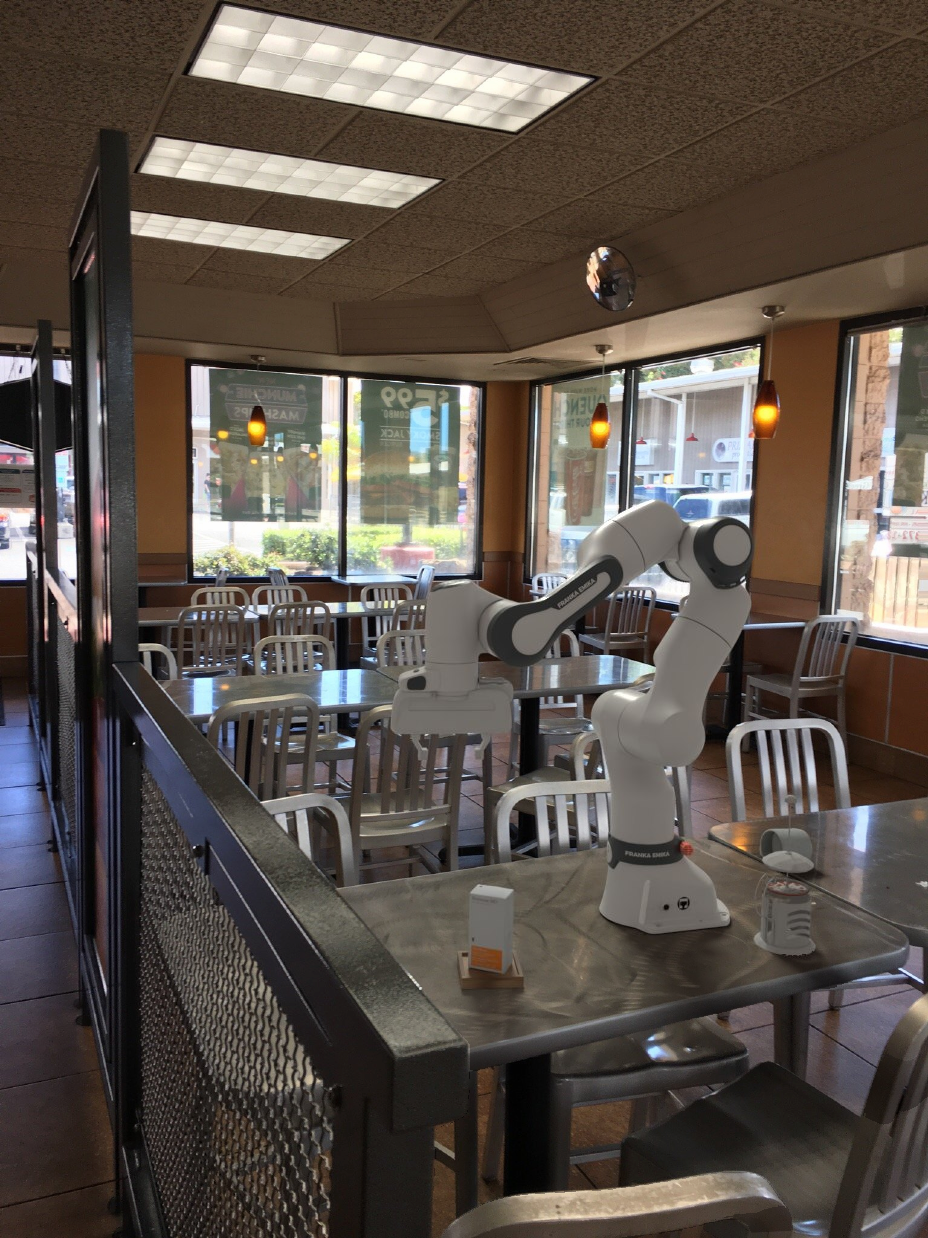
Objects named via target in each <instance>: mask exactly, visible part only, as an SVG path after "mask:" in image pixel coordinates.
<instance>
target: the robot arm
mask: <svg viewBox="0 0 928 1238" xmlns="http://www.w3.org/2000/svg"><path fill="white" fill-rule="evenodd" d="M755 548H756V547H755V539H754V535H753V532H752V531H751V529H750V528H749V526H748V525H747V524H746V523H744V522H743V521H742V520H740V519H738V518H735V517H731V516H726V515H725V516H724V515H717V516H713V517H704V518H698V519H694V520H692V521H684V520H683V519H682V518H681V516H680V515H679V513H678V511H677V509H675V508H674V507H673V506H672V505H671V504H670V503H668V502H666V501H665V500H662V499H660V498H659V499H658V498H656V499H655V498H654V499H652V498H651V499H648V500H645V501H644V502H641V503H638V504H636V505H634V506H631V507H629V508H627V509H625V510H623V511H621V512H619V513H618V514H615V515H614V516H613V517H611V518H609V519H607V520H606V521H605V522H603V523H601V524H600V525H599V526H597V527H596V528H595V529H593V530H591V531H590V533H589V534H587V536H585V537H584V538H583V540H582V541H580V543H579V545H578V546H577V550H576V564H577V567H578V568H577V569H576V571H575V572H574V573H573V574H572V575H570V576H569V577H568V578H566V579H565V580H564V581H562V582H561V583H560V584H558V585H557V586H556V587H554V588H553V589H551V590H550V591H549V592H547V593H546V594H545V595H543V596H542V597H540V598H538V599H536V600H533V601H529V602H517V601H514V600H511V599H508V598H504V597H501V596H499V595H497V594H494V593H492V592H490V591H488V590H486V589H485V588H483V587H481V586H479V585H478V584H476V583H475V581H474V580H472V579H468V578H467V579H466V578H460V579H451V580H447V581H443V582H440V583H439V582H438V583H437V584H435V585H434V586H433V587H432V588H431V589H430V590H429V592H428V596H427V600H426V601H427V602H426V607H425V608H426V609H425V618H424V620H425V622H424V624H425V625H424V635H425V638H426V645H427V647H426V649H427V650H426V653H425V657H424V665H423V666H420V667H416V668H414V669H410V670H407V671H405V672H402V673H401V674H399V676H398V679H397V680H398V681H397V682H398V687H399V688H398V689H397V690H396V692H395V694H394V696H393V701H392V706H391V713H390V714H391V715H390V730H391V731H392V732H393V733H394V734H395V735H411V741H412V743H413V745H414V747H415V748H416V750H417V759H418V761H428V748H427V747H422V745H421V743H420V742H419V741H421V735H433V734H434V735H441V734H442V735H443V734H444V735H448V734H449V735H453V734H454V735H456V734H459V735H462V734H465V735H466V734H473V735H474V734H480V736H481V740H482V741H481V743H480V745H479V746H477V747H474V748H473V751H474V754H473V757H474V760H477V761H478V760H479V761H480V760H481V761H482V760H483V761H484V758H485V753H484V752H485V751H484V750H485V749H486V748H487V746H488V744H489V743H490V741H491V734H508V733H509V732H510V731H511V729H512V728H513V723H512V722H513V721H512V720H513V719H512V710H511V709H512V708H511V703H512V701H513V700H514V686H513V683H512V682H511V681H509V680H508V679H506V678H505V677H501V676H500V677H487V676H485V677H481V676H480V677H479V656H480V655H481V654H490V655H492V656H493V657H496V658H498V659H499V660H500V661H502V662H503V663H505V664H506V665H507V666H511V667H516V668H527V667H530V666H532V665H535V664H536V663H539V662H540V661H541V660H542V659H543V658H545V657H546V655H548V653H549V651H550V650H551V649H552V647H553V646H554V644H555V642H556V641H557V639H558V638H559V637H560V636H561V634H563V633H564V632H565V631H566V630H567V629H569V627H570V626H572V625H574V623H576V622H577V621H578V620H580V619H581V618H583V616H585V615H586V614H588V613H589V612H590V611H592V610H593V609H594V608H595V607H597V606H598V605H599V604H601V603H602V602H603V601H605V600H606V599H607V598H608V597H610V596H611V595H612V594H613V593H615V592H616V591H617V590H618V589H620V588H622V587H624V586H625V585H628V583H629V584H630V582H632V581H633V580H635V579H636V578H639V577H640V576H641V575H643V574H644V573H645V572H647V571H648V570H650V569H651V568H653V567H654V566H655V565H658V567H659V568H660V569H661V571H662V572H663V573H664V574H665V575H666V576H668V577H669V578H671V579H672V580H674V581H677V582H680V583H685V584H686V583H689V593H688V596H687V599H686V601H685V604H684V606H683V607H682V609H681V610H680V611H679V612H678V614H677V616H676V617H675V619H674V620H673V622H672V623H671V625H670V626H669V628H668V630H667V632H665V635H664V636H663V637H662V639H661V641H660V642H659V644H658V645H657V647H656V649H655V650H654V653H653V658H652V659H653V664H654V666H655V672H654V676H653V681H652V683H651V686H650V687H649V690H648V691H647V692H646V693H645V692H642V691H638V690H635V689H630V688H628V689H627V688H622V689H612V690H611V689H610V690H608V691H605V692H604V693H602V694H600V696H598V698H597V699H596V700H595V701H594V704H593V706H592V708H591V712H590V720H591V721H590V722H591V725H592V728H593V730H594V732H595V734H596V736H597V737H598V740H599V742H600V746H601V748H602V752H603V757H604V760H605V766H606V769H607V774H608V780H609V781H608V782H609V787H610V830H609V831H608V834H607V841H606V861H607V862H606V863H607V866H608V867H607V874H606V882H605V886H604V892H603V895H602V899H601V902H600V904H599V912H600V913H601V915H602V916H603V917H605V918H606V919H607V920H610V921H612V922H614V923H616V924H618V925H622V926H626V927H631V928H635V929H638V930H640V931H642V932H644V933H647V934H650V935H657V934H665V933H666V934H667V933H673V932H676V933H677V932H683V931H692V930H700V929H701V930H702V929H708V928H709V929H710V928H718V927H726V926H728V925H730V922H731V915H730V911H729V909H728V907H727V906H726V905H725V904H724V902H722V900H720V899H719V898H717V891H716V887H715V885H714V883H713V880H712V879H711V878H710V876H709V875H708V874H707V873H706V871H704V870H703V869H701V868H700V867H699V866H698V865H696V864H695V863H694V862H693V861H692V860H690V859H689V858H688V857H690V856H692V854H694V851H695V849H694V847H693V845H692V844H691V843H690V842H688V841H685V839H684V838H683V837H681V836H679V835H678V834H677V833H675V825H676V824H675V819H676V818H675V817H676V816H675V815H676V794H675V793H676V792H675V789H674V787H673V785H672V784H671V782H670V780H669V778H668V776H667V774H666V770H665V768H664V767H669V768H683V767H686V766H689V765H690V764H692V763H693V762H695V761H696V759H697V758H698V757H699V756H700V754H701V753H702V751H703V748H704V746H705V742H706V731H705V727H704V724H703V719H702V717H703V709H704V705H705V701H706V697H707V695H708V692H709V690H710V687H711V685H712V683H713V682H714V680H715V678H716V676H717V675H718V672H719V671H720V669H721V667H722V666H723V664H724V663H725V661H726V659H727V658H728V656H729V655H730V653H731V651H732V649H733V648H734V646H735V644H736V643H737V641H738V639H739V637H740V635H741V633H742V630H743V629H744V627H745V624H746V621H747V620H748V616H749V614H750V611H751V609H752V599H751V595H750V593H749V592H748V590H747V589H746V588H745V587H744V586H743V585H742V584H744V583H745V582H746V581H747V580H748V579H749V576H750V570H751V569H750V567H751V564H752V561H753V559H754V555H755ZM742 578H743V579H742Z"/></svg>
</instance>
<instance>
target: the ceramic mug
mask: <svg viewBox="0 0 928 1238" xmlns="http://www.w3.org/2000/svg"><path fill="white" fill-rule="evenodd" d="M788 835H789V828H769V829H766V830H765V831H763V833H762V834H761V838H760V841H759V854H760V856H761V857H762V858H763V857H765V856H767V855H769V854H771V853H774V852H778V851H788ZM789 852H795V853H798V854H800V855H802V856H804V857H806V858H808V859H809V860H811V859H812V857H813V856H814V843H813V840H812V837H811V836H810V834H809V833H808V832H806V831H805V830H804V829H801V828H795V827H793V828H791V827H790V843H789Z"/></svg>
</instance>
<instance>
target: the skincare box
mask: <svg viewBox="0 0 928 1238" xmlns="http://www.w3.org/2000/svg"><path fill="white" fill-rule="evenodd" d="M468 895H469V897H468V903H469V904H468V941H467V942H468V943H467V944H468V946H467V947H468V949H467V951H468V968H475V969H480V970H485V971H490V972H495V973H500V974H505V973H506V971H507V970H508V968H509V967H510V966H511V964H512V961H513V950H514V909H515V908H514V907H515V904H514V903H515V890H514V889H512V888H507V887H502V886H501V887H500V886H497V885H496V886H494V885H485V884H477V885H476V886H475V887H474V888H473V889H472V890H471V891H470V892H469V894H468Z"/></svg>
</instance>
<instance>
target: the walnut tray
mask: <svg viewBox="0 0 928 1238" xmlns="http://www.w3.org/2000/svg"><path fill="white" fill-rule="evenodd" d="M457 968H458V973H459V979H460V980H459V981H460V986H461V987H460V988H461V990H477V989H481V990H482V989H483V990H484V989H511V988H512V989H513V988H524V981H525V979H524V977H525V976H524V973H523V970H522V966H521V963H520V959H519V956H518V952H517V949H513V961H512V964H511V966H510V967H509V968H508V970H507V971H506V973H505V974H500V973H495V972H490V971H485V970H480V969H475V968H468V950H457Z"/></svg>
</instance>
